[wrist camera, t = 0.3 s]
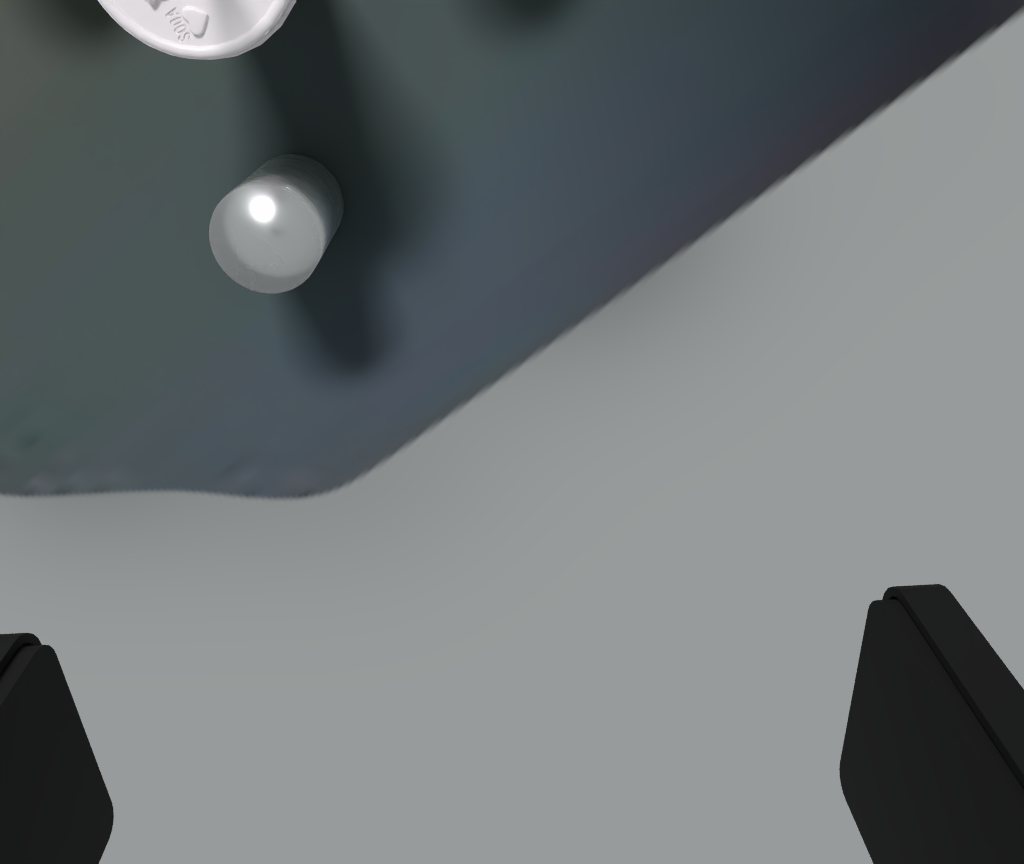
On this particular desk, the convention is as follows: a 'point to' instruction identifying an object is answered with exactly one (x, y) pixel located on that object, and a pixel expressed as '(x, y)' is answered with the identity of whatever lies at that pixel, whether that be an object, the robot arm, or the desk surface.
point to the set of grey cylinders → (277, 223)
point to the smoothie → (200, 24)
